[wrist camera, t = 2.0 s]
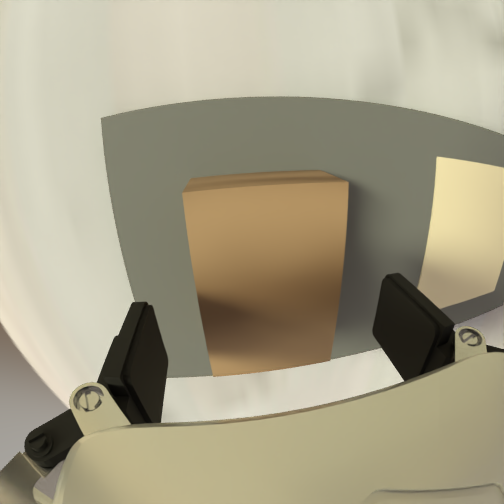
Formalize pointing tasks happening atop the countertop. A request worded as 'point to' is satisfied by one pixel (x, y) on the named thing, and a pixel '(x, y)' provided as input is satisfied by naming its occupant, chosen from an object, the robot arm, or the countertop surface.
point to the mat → (330, 161)
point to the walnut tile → (267, 266)
